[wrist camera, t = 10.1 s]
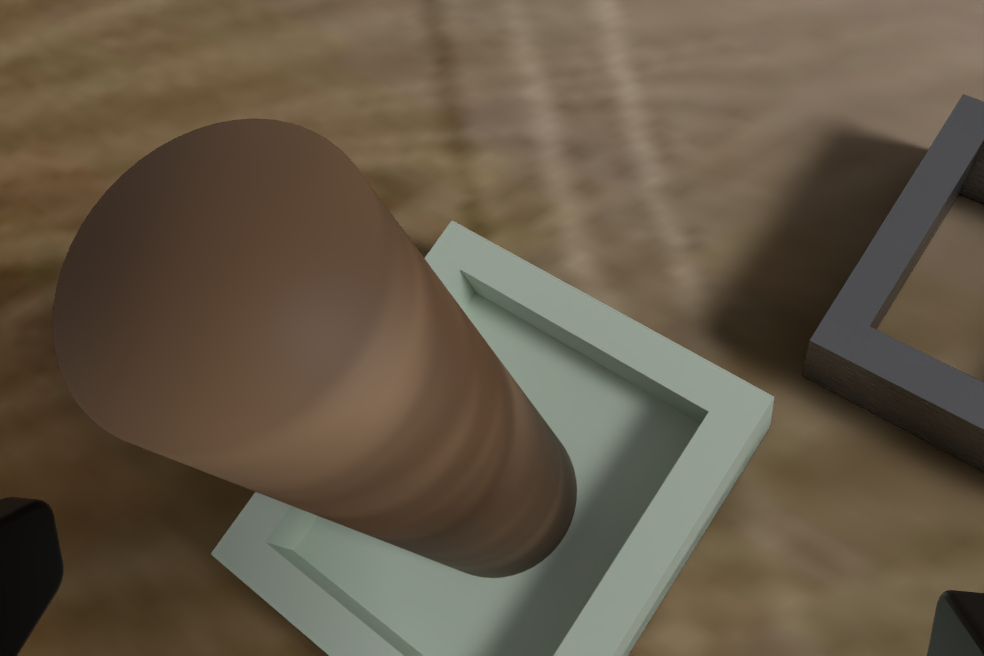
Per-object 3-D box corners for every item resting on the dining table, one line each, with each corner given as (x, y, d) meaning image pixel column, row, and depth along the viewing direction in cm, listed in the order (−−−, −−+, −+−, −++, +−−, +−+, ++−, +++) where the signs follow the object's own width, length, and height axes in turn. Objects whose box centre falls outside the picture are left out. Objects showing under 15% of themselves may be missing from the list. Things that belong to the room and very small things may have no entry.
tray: (539, 798, 20) (513, 813, 18) (260, 566, 24) (210, 553, 21) (770, 426, 22) (774, 396, 19) (477, 261, 25) (451, 220, 23)
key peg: (564, 589, 21) (337, 472, 9) (402, 565, 22) (5, 431, 10) (586, 419, 22) (412, 118, 10) (431, 405, 23) (111, 118, 11)
